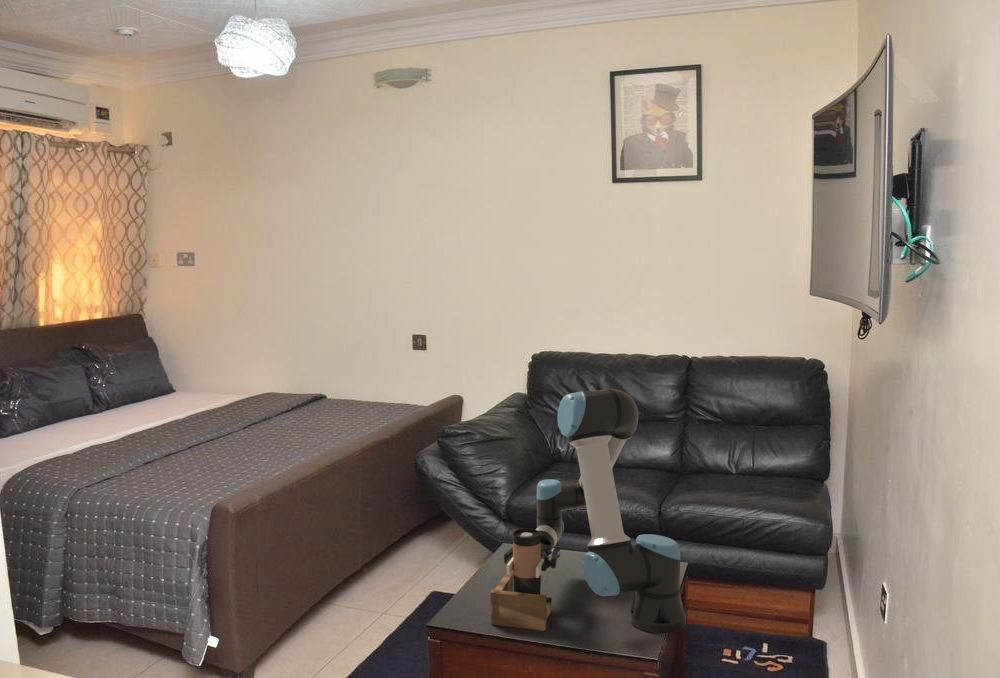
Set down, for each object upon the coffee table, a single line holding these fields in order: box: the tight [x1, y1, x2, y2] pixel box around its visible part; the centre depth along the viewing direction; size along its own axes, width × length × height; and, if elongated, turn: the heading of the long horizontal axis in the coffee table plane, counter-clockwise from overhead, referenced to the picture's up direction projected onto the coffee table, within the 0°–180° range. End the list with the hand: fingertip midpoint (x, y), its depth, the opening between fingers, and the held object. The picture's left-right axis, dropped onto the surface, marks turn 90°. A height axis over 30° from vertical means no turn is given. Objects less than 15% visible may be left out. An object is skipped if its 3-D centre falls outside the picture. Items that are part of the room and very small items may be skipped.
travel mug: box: [512, 528, 542, 595], centre depth 229 cm, size 8×8×20 cm
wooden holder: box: [489, 572, 553, 632], centre depth 230 cm, size 14×15×9 cm
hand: (522, 571), depth 224 cm, fingers closed on travel mug, 7 cm apart
